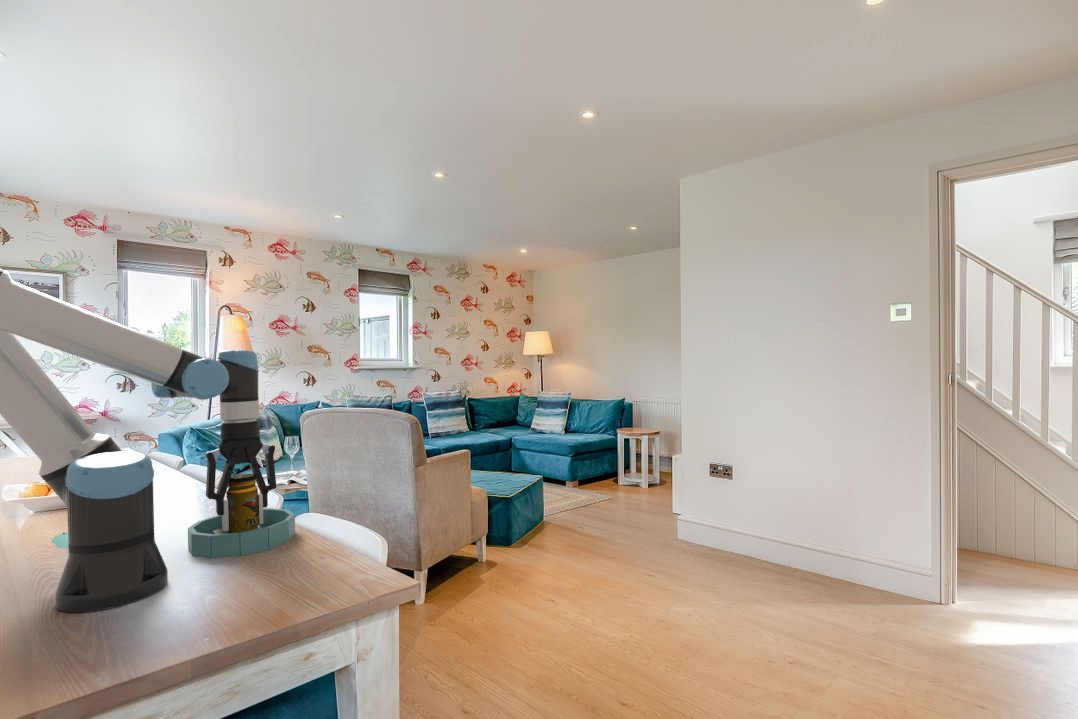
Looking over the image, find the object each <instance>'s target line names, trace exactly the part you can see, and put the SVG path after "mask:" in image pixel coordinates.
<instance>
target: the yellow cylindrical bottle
mask: <svg viewBox="0 0 1078 719" xmlns="http://www.w3.org/2000/svg"><path fill="white" fill-rule="evenodd" d="M255 479H256V477H255V475H254V474H253V473H244V474H242V473H241V474H235V475H231V478H230V481H229V484H228V487H227V490H226V499H227V500H228V516H229V531H224V530H223V529H219V530H214V531H213V532H214V533H215V534H226V533H239V532H245V531H250V530H255V529H260V528H261V527H260V526H258V493H259V491H258V490H259V488H258V485H256V484H257V483H256V480H255Z"/></svg>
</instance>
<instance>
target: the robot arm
mask: <svg viewBox="0 0 1078 719" xmlns="http://www.w3.org/2000/svg"><path fill="white" fill-rule="evenodd" d="M15 335H16V336H19V337H21V338H24V339H27V340H30V341H32V342H36V343H38V344H41V345H44V346H47V347H50V348H52V349H56V350H58V351H61V352H63V353H67V354H70V355H72V356H75V357H78V358H81V359H84V360H87V361H90V362H92V363H95V364H97V365H101V366H105V368H109V369H112V370H114V371H117V372H120V373H123V374H127V375H129V376H132V377H134V378H138V379H141V380H144V381H147V382H149V383H151V384H150V385H151V391H152V394H153V395H154V397H156V398H159V399H160V398H161V399H162V398H163V399H164V398H165V399H166V398H168V399H175V398H193V399H194V398H195V399H196V400H200V401H201V400H202V401H205V400H209V399H213V398H216V397H217V396H219V406H220V407H219V410H220V411H219V412H220V414H219V415H220V420H221V421H223V422H222V423H221V424H220V444H219V447H218V448H216V449H214V450H213V449H212V450H211V451H209V450H208V451H206V452H204V456H205V459H206V462H207V463H206V464H207V467H206V469H207V470H206V482H205V483H206V484H205V485H206V486H205V497H206V498H207V499H208V500H214V501H215V507H216V510H215V512H216V514H217V515H219V516H220V515H222V529H223V530H224V531H229V516H228V500H227V497H226V495H227V490H228V488H229V487H228V484H229V481H230V478H231V476H233V475H232V474H233V472H234V469H235V466H236V465H240V464H244V463H245V464H248V466H249V467H250V470H251V472H252V473H251V474H254V475H255V477H256V479H255V482H256V484H257V485H256V486H257V488H258V490H259V491H258V523H259V524H263V509H266V508H268V505H269V504H268V502H269V501H268V494H269V492H270V491H272V490H275V489H276V488H277V480H276V479H277V478H276V477H277V476H276V469H275V461H274V460H275V459H274V458H275V457H274V455H275V451H276V445H274V444H271V443H270V444H265V443H263V442H262V440H261V438H260V437H261V429H260V428H261V425H260V421H259V420H257V419H258V418H260V402H259V401H260V399H259V372H260V370H259V365H258V363H259V361H258V356H257V353H256V352H255V351H253V350H247V349H246V350H244V349H243V350H240V349H239V350H238V349H237V350H222V351H220V352H219V353H218V357H217V359H214V358H210V357H202V356H200V355H198V354H195V353H194V352H190V351H187V350H184V349H182V348H181V347H179V346H175V345H173V344H172V343H168V342H165V341H163V340H160V339H159V338H155V337H153V336H151V335H148V334H146V333H143V332H141V331H139V330H135V329H133V328H130V327H129V326H125V325H123V324H120V323H118V322H116V321H114V320H110V319H108V318H106V317H103V316H101V315H98V314H96V313H93V312H91V311H89V310H86V309H83V308H80V307H78V306H76V305H73V304H70V303H68V302H65V301H63V300H61V299H59V298H56V297H54V296H52V295H49V294H46V293H44V292H40V291H39V290H36V289H34V288H31V287H28V286H26V285H23V284H21V283H19V282H16V281H14V280H13V279H12V277H11V275H10V273H9V272H8V271H7V270H4V269H2V268H0V416H1V417H2V418H3V419H4V420H5V421H6V423H7V424H8V425H9V426H10V427H11V428H12V429H13V430H14V431H15V433H16V434H17V435H18V436H19V437H20V438H21V440H22V441H23V442H24V444H26V445H27V446H28V447H29V449H30V450H31V451H32V452H33V453H34V454H35V456H37V458H38V459H39V460H40V461H41V465H40V468H39V471H38V472H39V473H38V475H39V476H40V477H41V478H42V479H43V481H44V482H45V483H46V484H47V486H49V488H51V490H52V491H53V492H54V494H56V496H58V497H59V499H60V500H62V503H63V504H65V507H66V509H67V510H66V511H67V533H68V543H69V548H68V557H67V560H66V563H65V566H64V569H63V571H62V573H61V574H62V575H61V577H60V580H59V583H58V585H57V587H56V588H57V589H56V591H55V608H56V609H57V610H58V611H60V612H65V613H87V612H97V611H100V610H101V611H102V610H105V609H106V610H107V609H111V608H116V607H119V606H123V605H126V604H127V605H128V604H130V603H133V602H136V601H139V600H141V599H145V598H147V597H149V596H152V595H153V594H156V593H157V592H159V591H160V590H162V589H163V588H164V587H166V586H167V584H168V581H169V580H168V577H169V576H168V567H167V566H166V563H165V561H164V559H163V556H162V554H161V552H160V549H159V547H158V545H157V542H156V539H155V512H154V511H155V510H154V509H155V507H154V506H155V504H154V503H155V502H154V478H155V477H154V476H155V470H154V468H153V462H152V461H153V460H152V459H151V457H149V456H148V455H147V454H144V453H142V452H132V451H123V450H122V449H121V448H120V446H118V444H117V443H116V442H115V440H113V438H112V437H111V436H110V435H109V434H103V433H97V432H94V430H93V429H92V428H91V427H90V425H89V424H88V423H87V422H86V421H85V419H84V418H83V417H82V416H81V415H80V413H79V412H78V411H77V409H75V407H74V406H73V405H72V404H71V403H70V401H69V400H68V399H67V398H66V396H65V395H64V394H63V393H62V392H61V391H60V389H59V388H58V387H57V385H56V384H55V383H54V382H53V381H52V379H51V378H50V377H49V376H48V375H47V373H46V372H45V371H44V370H43V369H42V368H41V366H40V365H39V364H38V363H37V361H36V360H35V359H34V358H33V356H32V355H31V354H30V353H29V352H28V351H27V349H26V348H25V347H24V346H23V344H22V343H21V342H20V341H19V339H18V338H17V337H16V336H15ZM261 450H262V453H263V454H264V459H265V460H264V462H265V472H266V479H267V481H266V480H265V479H264V477H263V473H262V471H261V469H260V467H259V463H258V460H257V458H256V457H257V456H258V454H259V453H260V451H261ZM219 455H221V456H222V457H224V459H225V463H224V469H223V470H222V474H221V478H220V481H219V484H218V486H217V490H215V489H216V473H217V470H216V469H217V462H216V461H218V459H219ZM266 482H267V483H266ZM215 491H216V492H215Z"/></svg>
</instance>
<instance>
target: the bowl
mask: <svg viewBox="0 0 1078 719" xmlns="http://www.w3.org/2000/svg"><path fill="white" fill-rule="evenodd" d="M258 526H260V527H261V528H260V529H255V530H250V531H245V532H239V533H226V534H215V533H214V532H213V531H214V530H219V529H222V515H220V516H219V515H218V514H217V515H214V516H211V517H207V518H204V519H201V520H198V521H196V522H195V523H193V524H192V525H191V526H189V527H188V528H187V546H188V547H187V548H188V552H189V553H190V555H191V556H192V557H196V558H205V559H221V558H222V559H223V558H233V557H234V558H235V557H241V556H242V557H243V556H247V555H251V554H257V553H260V552H264V551H269V550H271V549H274V548H276V547H279V546H282V545H284V544H286V543H289V542H290V541H291V539H292V538H293V537H295V535H296V514H295V513H294V512H292V511H291V510H289V509H285V508H284V509H283V508H282V509H281V508H275V507H274V508H272V507H265V508H263V524H259V523H258Z"/></svg>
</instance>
